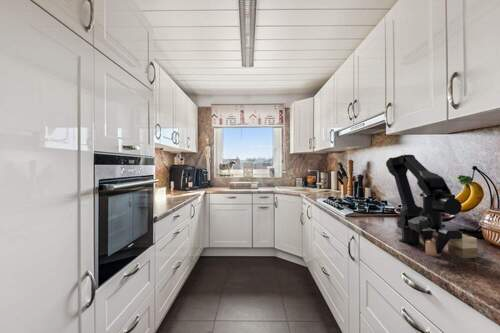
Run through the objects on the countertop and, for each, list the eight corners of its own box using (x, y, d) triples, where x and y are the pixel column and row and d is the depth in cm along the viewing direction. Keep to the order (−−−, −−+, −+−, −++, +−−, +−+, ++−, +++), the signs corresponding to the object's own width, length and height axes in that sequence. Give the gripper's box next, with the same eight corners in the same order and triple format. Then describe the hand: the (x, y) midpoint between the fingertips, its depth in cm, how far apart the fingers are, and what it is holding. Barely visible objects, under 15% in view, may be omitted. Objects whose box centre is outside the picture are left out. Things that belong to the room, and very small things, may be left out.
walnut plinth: (448, 253, 96) (448, 243, 96) (462, 252, 96) (462, 243, 96) (463, 258, 90) (463, 249, 90) (478, 257, 90) (478, 248, 90)
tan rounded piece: (422, 252, 96) (422, 239, 96) (433, 251, 97) (433, 238, 97) (432, 256, 92) (432, 243, 92) (443, 256, 92) (443, 242, 92)
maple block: (449, 243, 96) (449, 234, 95) (462, 243, 96) (462, 234, 96) (462, 248, 90) (462, 239, 90) (476, 247, 90) (476, 238, 90)
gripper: (395, 206, 102) (395, 244, 103) (433, 215, 84) (433, 262, 84) (420, 205, 104) (421, 243, 104) (463, 214, 85) (464, 260, 85)
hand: (432, 251), depth 94 cm, fingers closed on tan rounded piece, 5 cm apart
